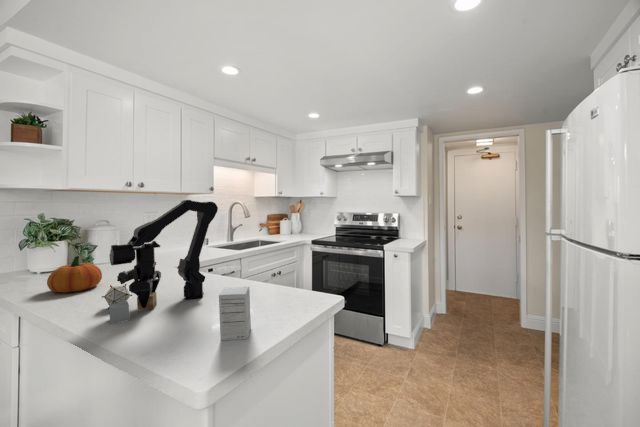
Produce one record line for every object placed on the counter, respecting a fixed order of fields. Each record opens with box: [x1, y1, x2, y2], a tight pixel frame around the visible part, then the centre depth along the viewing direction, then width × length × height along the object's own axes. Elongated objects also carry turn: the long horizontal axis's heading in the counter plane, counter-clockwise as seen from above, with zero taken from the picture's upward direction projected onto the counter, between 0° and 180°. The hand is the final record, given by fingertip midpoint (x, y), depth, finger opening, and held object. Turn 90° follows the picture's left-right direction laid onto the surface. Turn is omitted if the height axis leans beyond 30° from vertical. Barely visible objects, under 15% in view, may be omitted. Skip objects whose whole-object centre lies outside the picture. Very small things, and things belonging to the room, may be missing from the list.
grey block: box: [108, 300, 130, 325], centre depth 96 cm, size 5×5×5 cm
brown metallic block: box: [136, 291, 158, 312], centre depth 106 cm, size 5×5×5 cm
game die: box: [101, 283, 133, 309], centre depth 108 cm, size 9×8×10 cm
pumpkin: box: [46, 255, 103, 294], centre depth 133 cm, size 19×19×15 cm
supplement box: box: [218, 286, 252, 341], centre depth 83 cm, size 7×7×13 cm
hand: (147, 303), depth 106 cm, fingers open, 9 cm apart
